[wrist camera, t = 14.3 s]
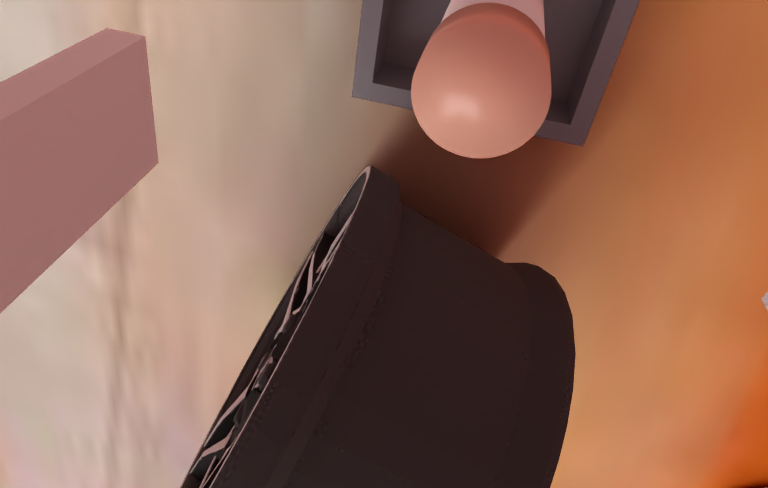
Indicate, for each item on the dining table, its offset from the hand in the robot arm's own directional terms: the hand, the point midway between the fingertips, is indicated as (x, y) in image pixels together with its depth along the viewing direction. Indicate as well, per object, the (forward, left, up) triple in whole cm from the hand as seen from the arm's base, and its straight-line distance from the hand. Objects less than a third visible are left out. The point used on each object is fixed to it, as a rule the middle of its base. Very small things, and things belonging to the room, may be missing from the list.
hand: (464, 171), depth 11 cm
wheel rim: (-2, -17, -17) cm, 24 cm away
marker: (0, 0, -16) cm, 16 cm away
